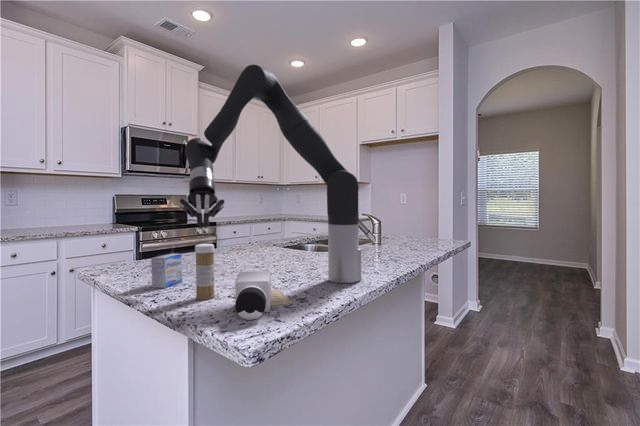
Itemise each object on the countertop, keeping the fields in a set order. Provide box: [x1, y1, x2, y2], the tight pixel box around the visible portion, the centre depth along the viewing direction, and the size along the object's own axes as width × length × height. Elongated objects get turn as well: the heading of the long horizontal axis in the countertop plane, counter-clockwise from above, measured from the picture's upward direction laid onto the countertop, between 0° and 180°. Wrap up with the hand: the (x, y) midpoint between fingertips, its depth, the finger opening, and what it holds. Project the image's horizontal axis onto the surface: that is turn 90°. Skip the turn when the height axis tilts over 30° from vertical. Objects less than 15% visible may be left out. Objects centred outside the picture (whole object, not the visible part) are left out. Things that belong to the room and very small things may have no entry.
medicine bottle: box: [234, 270, 272, 321], centre depth 71 cm, size 7×7×12 cm
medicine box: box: [150, 253, 183, 289], centre depth 96 cm, size 8×4×9 cm, turn 168°
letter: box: [233, 289, 293, 307], centre depth 81 cm, size 12×13×1 cm
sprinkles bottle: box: [194, 243, 216, 301], centre depth 82 cm, size 5×5×14 cm
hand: (203, 225), depth 92 cm, fingers closed
